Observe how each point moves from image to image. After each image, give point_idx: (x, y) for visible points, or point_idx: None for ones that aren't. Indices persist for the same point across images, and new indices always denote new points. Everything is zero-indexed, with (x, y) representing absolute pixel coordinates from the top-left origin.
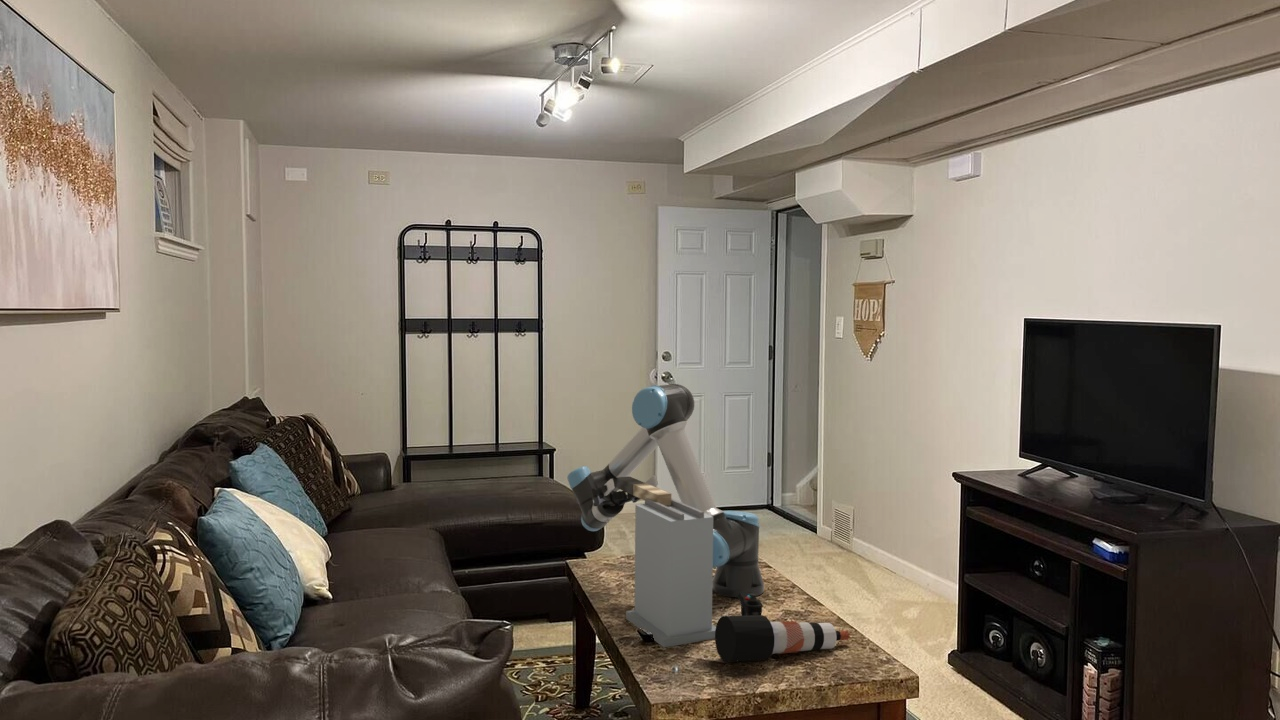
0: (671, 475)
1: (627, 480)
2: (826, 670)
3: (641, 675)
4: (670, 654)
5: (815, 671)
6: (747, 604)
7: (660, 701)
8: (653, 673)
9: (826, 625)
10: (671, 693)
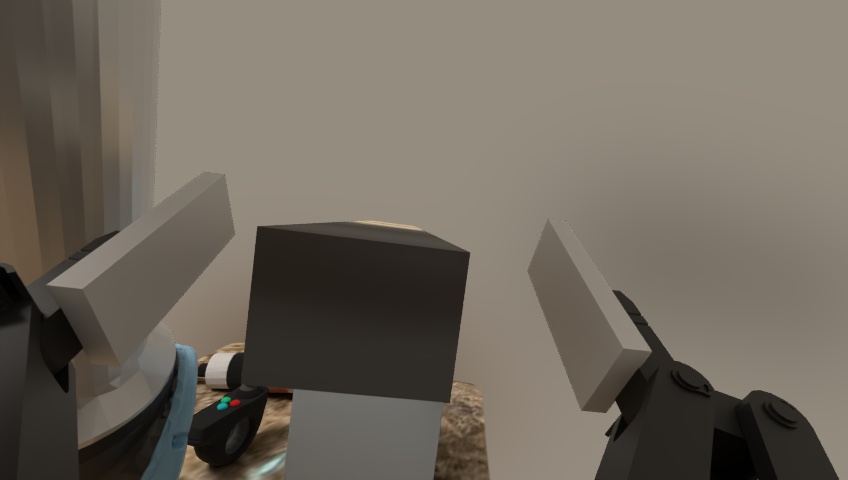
0: (124, 165)
1: (413, 234)
2: None
3: (481, 420)
4: None
5: None
6: (263, 392)
7: (476, 386)
8: (465, 418)
9: (227, 353)
10: (460, 390)
